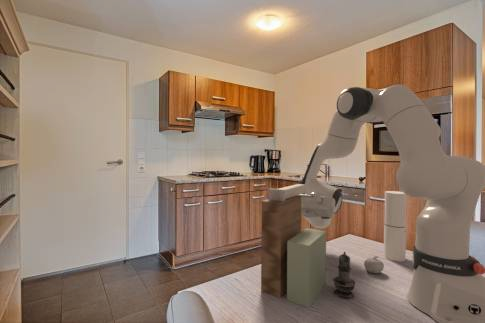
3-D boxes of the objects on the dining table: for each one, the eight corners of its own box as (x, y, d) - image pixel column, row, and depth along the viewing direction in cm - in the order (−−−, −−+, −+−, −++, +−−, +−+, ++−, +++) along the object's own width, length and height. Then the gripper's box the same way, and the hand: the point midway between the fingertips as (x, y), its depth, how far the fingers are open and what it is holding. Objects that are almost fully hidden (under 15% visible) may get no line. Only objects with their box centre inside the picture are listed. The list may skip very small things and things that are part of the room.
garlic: (378, 268, 90) (378, 253, 90) (386, 275, 84) (386, 260, 84) (360, 268, 90) (361, 253, 90) (367, 275, 85) (368, 259, 85)
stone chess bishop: (351, 289, 76) (352, 248, 76) (358, 300, 70) (359, 256, 70) (330, 287, 77) (331, 247, 76) (335, 298, 71) (336, 255, 70)
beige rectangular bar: (308, 192, 90) (308, 183, 90) (283, 201, 73) (283, 190, 73) (295, 191, 93) (295, 182, 93) (268, 199, 76) (268, 188, 76)
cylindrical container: (379, 255, 102) (380, 191, 101) (393, 253, 104) (394, 190, 103) (395, 262, 95) (396, 194, 94) (410, 260, 97) (411, 193, 96)
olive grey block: (325, 283, 79) (326, 231, 79) (308, 307, 67) (309, 245, 66) (306, 278, 83) (307, 228, 82) (286, 300, 70) (287, 241, 70)
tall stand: (300, 276, 84) (301, 195, 83) (280, 297, 71) (280, 203, 71) (283, 271, 87) (284, 194, 86) (261, 291, 75) (261, 200, 74)
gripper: (287, 197, 107) (274, 183, 97) (339, 202, 95) (330, 187, 85) (284, 212, 104) (270, 199, 94) (337, 219, 93) (327, 205, 83)
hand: (299, 193), depth 90 cm, fingers open, 8 cm apart
